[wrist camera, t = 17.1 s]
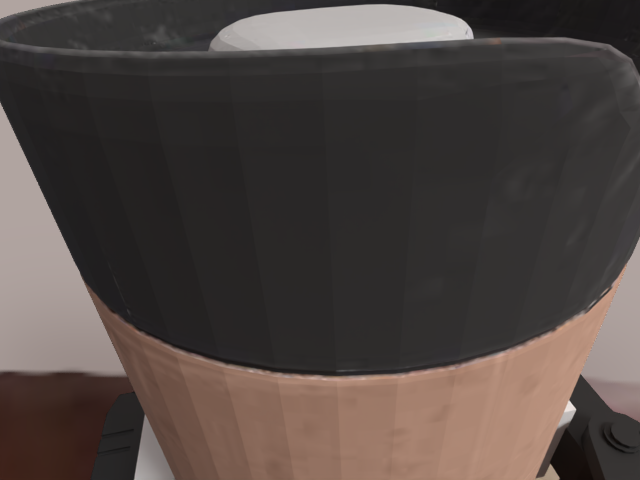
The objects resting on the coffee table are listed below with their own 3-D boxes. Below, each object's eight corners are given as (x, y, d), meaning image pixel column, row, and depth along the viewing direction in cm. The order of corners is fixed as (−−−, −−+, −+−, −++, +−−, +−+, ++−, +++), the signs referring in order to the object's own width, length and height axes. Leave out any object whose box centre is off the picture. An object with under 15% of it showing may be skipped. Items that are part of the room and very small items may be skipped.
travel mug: (270, 483, 20) (149, -17, 9) (437, 488, 19) (545, -41, 8) (233, 731, 14) (-407, 89, 2) (480, 750, 13) (1298, 11, 2)
